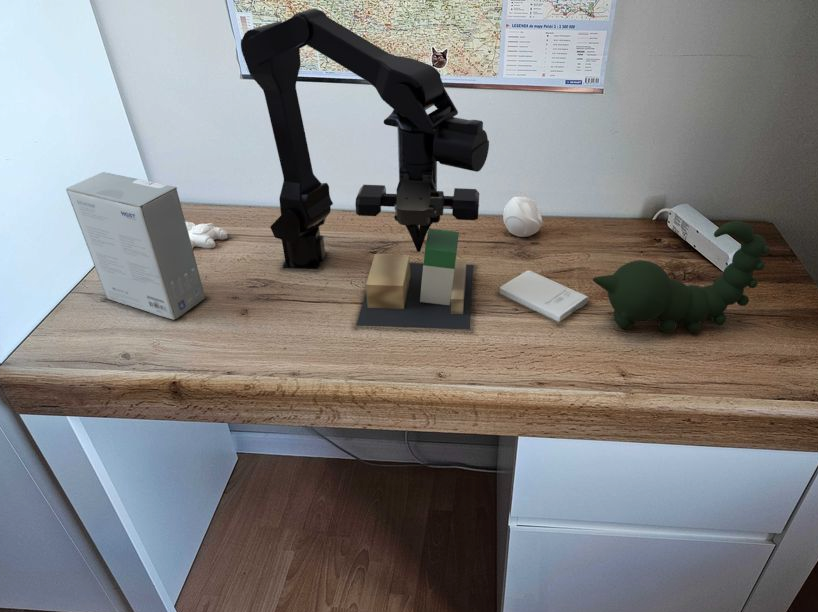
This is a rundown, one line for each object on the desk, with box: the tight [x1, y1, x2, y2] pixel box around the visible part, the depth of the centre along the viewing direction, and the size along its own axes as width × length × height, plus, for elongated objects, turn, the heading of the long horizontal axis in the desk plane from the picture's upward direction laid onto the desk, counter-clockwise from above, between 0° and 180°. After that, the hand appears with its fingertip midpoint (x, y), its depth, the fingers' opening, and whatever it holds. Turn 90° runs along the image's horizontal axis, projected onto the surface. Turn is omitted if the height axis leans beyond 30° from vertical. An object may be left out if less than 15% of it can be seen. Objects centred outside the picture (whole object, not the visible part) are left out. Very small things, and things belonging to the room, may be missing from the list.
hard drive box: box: [65, 171, 206, 321], centre depth 106 cm, size 16×8×20 cm, turn 65°
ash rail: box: [451, 260, 467, 315], centre depth 112 cm, size 2×12×3 cm, turn 177°
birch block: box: [365, 253, 411, 309], centre depth 112 cm, size 6×10×4 cm, turn 177°
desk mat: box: [355, 262, 474, 331], centre depth 113 cm, size 18×20×1 cm
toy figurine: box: [592, 220, 771, 334], centre depth 101 cm, size 9×19×25 cm
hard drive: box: [498, 269, 589, 323], centre depth 112 cm, size 2×8×12 cm
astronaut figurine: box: [185, 221, 229, 250], centre depth 128 cm, size 9×12×3 cm
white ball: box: [502, 195, 544, 238], centre depth 128 cm, size 8×8×8 cm
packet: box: [420, 227, 460, 305], centre depth 110 cm, size 9×7×11 cm
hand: (419, 250), depth 108 cm, fingers closed
